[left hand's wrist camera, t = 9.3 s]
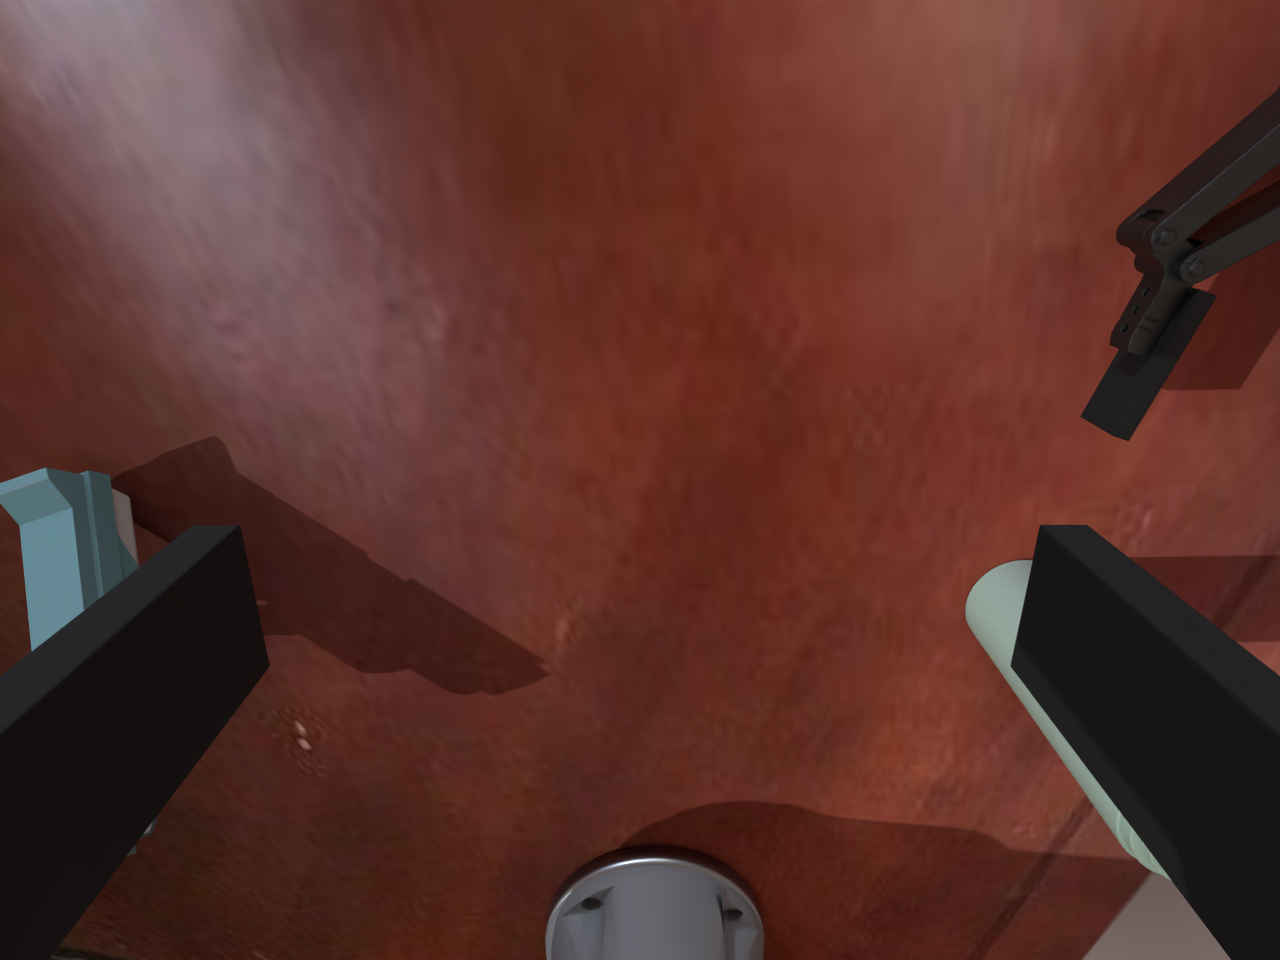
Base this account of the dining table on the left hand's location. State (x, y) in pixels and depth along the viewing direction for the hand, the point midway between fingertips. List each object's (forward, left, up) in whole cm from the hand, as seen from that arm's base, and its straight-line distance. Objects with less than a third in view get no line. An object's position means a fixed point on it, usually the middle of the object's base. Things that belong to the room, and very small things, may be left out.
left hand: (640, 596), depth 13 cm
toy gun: (-18, +26, -28) cm, 42 cm away
